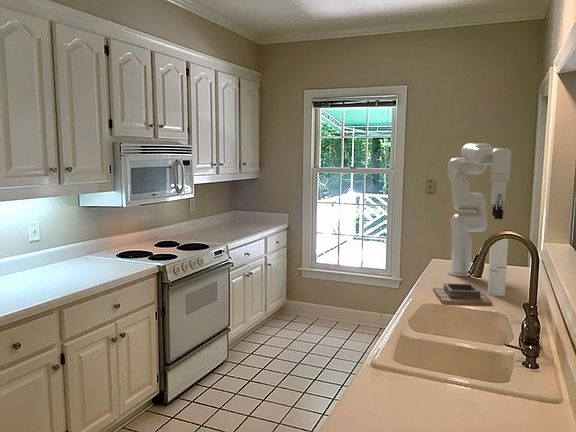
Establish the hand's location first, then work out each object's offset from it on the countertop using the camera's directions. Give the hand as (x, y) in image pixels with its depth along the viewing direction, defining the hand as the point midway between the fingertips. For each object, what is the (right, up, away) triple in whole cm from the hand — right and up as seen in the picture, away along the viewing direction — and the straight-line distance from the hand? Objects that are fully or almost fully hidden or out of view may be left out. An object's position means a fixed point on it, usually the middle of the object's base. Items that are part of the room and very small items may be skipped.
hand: (497, 217), depth 215 cm
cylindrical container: (+2, -34, +6) cm, 35 cm away
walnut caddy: (-16, -35, 0) cm, 38 cm away
